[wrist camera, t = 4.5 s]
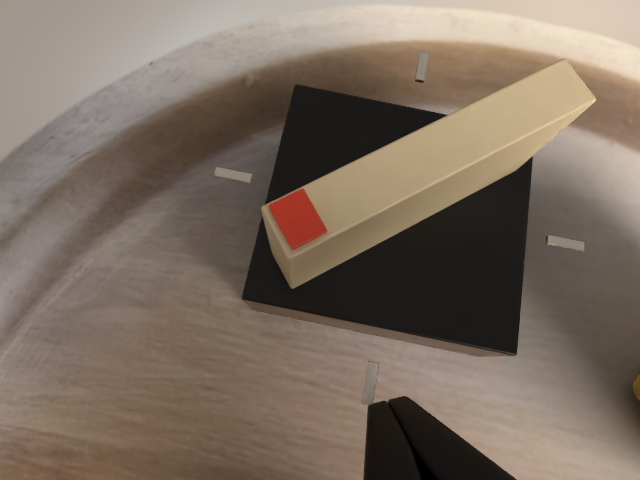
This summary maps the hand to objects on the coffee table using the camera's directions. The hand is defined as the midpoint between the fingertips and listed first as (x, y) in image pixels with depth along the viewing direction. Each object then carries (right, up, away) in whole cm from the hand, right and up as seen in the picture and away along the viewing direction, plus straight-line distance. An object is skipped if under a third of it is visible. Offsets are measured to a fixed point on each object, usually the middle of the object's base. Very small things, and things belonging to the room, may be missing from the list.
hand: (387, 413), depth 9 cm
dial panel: (+1, +4, +11) cm, 12 cm away
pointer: (+2, +5, +8) cm, 9 cm away
